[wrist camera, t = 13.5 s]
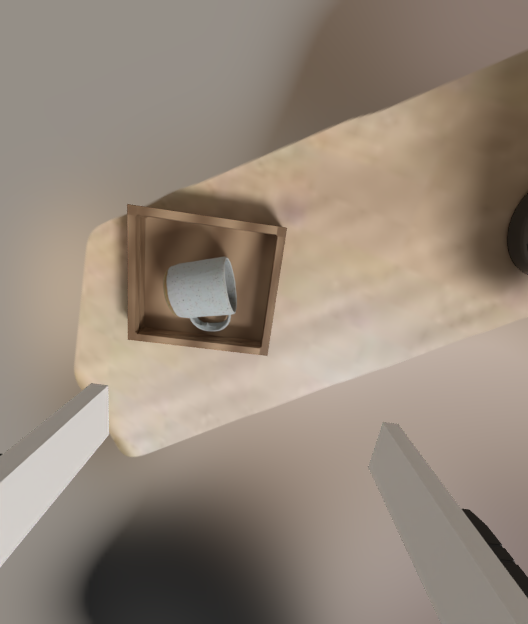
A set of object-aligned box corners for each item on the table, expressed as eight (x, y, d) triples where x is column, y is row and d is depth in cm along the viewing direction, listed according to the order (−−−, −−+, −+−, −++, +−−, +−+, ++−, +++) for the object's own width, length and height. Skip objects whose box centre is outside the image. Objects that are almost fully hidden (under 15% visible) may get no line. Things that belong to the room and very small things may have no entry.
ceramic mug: (174, 263, 36) (152, 269, 28) (230, 254, 35) (223, 258, 28) (191, 331, 39) (175, 353, 31) (243, 323, 38) (239, 344, 31)
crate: (283, 229, 36) (286, 227, 32) (266, 345, 40) (267, 355, 37) (141, 208, 35) (127, 204, 31) (140, 330, 39) (127, 339, 35)
